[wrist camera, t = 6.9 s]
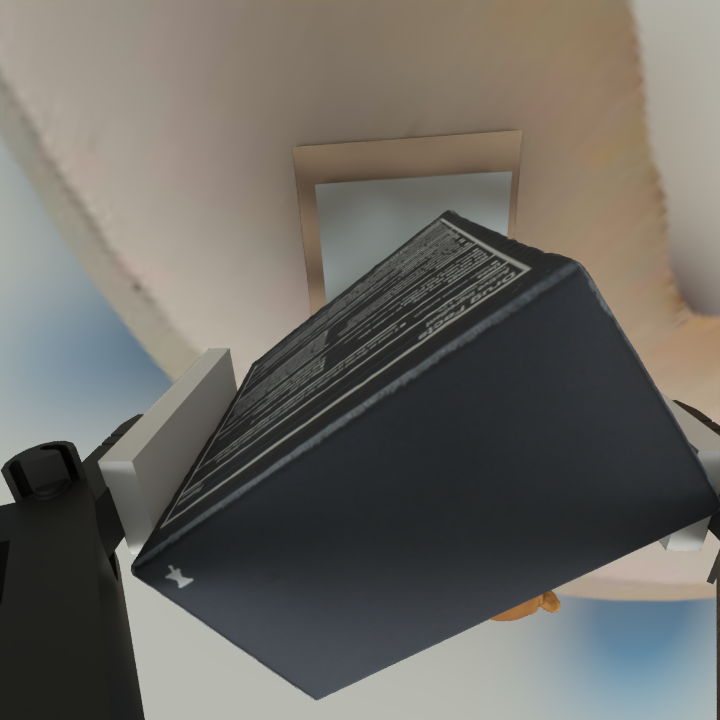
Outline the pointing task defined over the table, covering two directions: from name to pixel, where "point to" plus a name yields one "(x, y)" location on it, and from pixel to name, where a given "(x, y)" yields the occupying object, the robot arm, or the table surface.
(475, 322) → the small box
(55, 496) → the robot arm
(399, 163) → the building base
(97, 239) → the table surface
